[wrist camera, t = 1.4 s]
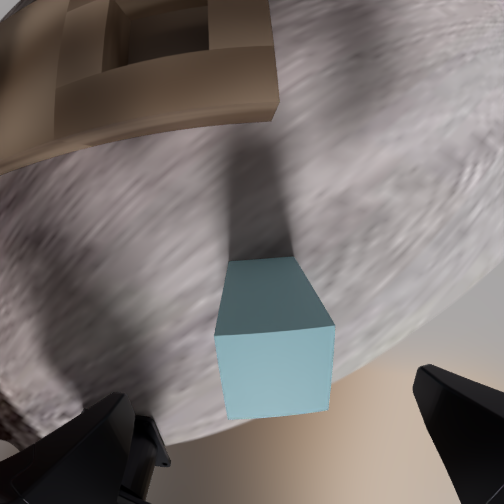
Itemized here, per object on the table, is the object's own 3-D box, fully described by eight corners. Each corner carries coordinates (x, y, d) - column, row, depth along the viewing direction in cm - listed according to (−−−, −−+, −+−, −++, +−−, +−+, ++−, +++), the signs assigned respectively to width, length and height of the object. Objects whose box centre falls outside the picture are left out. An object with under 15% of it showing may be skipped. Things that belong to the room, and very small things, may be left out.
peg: (295, 314, 17) (328, 410, 9) (234, 319, 17) (227, 419, 9) (293, 256, 16) (335, 325, 8) (228, 261, 16) (214, 335, 8)
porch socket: (271, 130, 14) (315, 50, 5) (-3, 183, 14) (-111, 201, 5) (255, -25, 12) (263, -140, 2) (7, 49, 12) (-77, 18, 2)
